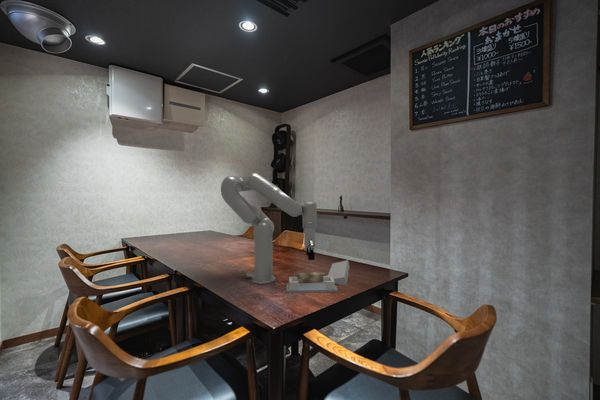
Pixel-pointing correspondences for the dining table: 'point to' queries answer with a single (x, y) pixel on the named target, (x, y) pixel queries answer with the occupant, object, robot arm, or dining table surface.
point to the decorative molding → (340, 272)
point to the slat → (310, 277)
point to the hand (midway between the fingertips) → (310, 257)
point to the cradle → (311, 285)
